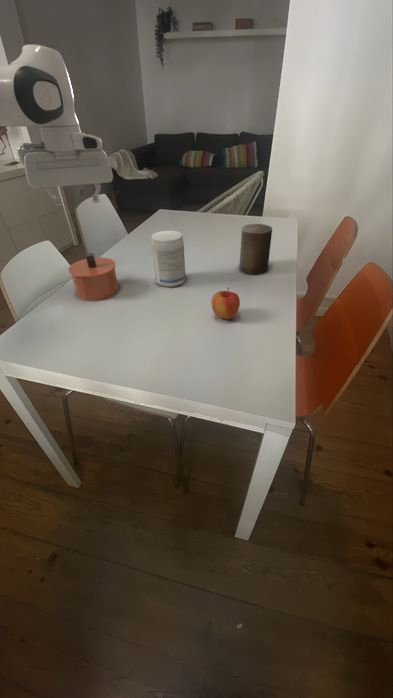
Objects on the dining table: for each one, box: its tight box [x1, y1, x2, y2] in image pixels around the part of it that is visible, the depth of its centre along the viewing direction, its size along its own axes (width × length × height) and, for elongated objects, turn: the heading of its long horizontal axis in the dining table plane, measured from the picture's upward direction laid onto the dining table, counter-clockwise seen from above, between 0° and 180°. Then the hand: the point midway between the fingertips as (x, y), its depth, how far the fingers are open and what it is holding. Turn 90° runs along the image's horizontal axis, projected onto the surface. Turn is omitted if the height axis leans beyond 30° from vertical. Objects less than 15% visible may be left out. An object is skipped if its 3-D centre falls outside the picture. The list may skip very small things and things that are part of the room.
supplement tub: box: [150, 230, 186, 288], centre depth 98 cm, size 10×10×15 cm
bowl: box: [71, 267, 119, 301], centre depth 96 cm, size 12×12×8 cm
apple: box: [210, 286, 241, 320], centre depth 82 cm, size 7×7×8 cm
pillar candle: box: [239, 223, 273, 275], centre depth 104 cm, size 10×10×15 cm
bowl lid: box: [68, 252, 117, 278], centre depth 93 cm, size 13×13×5 cm
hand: (77, 204), depth 83 cm, fingers open, 8 cm apart
